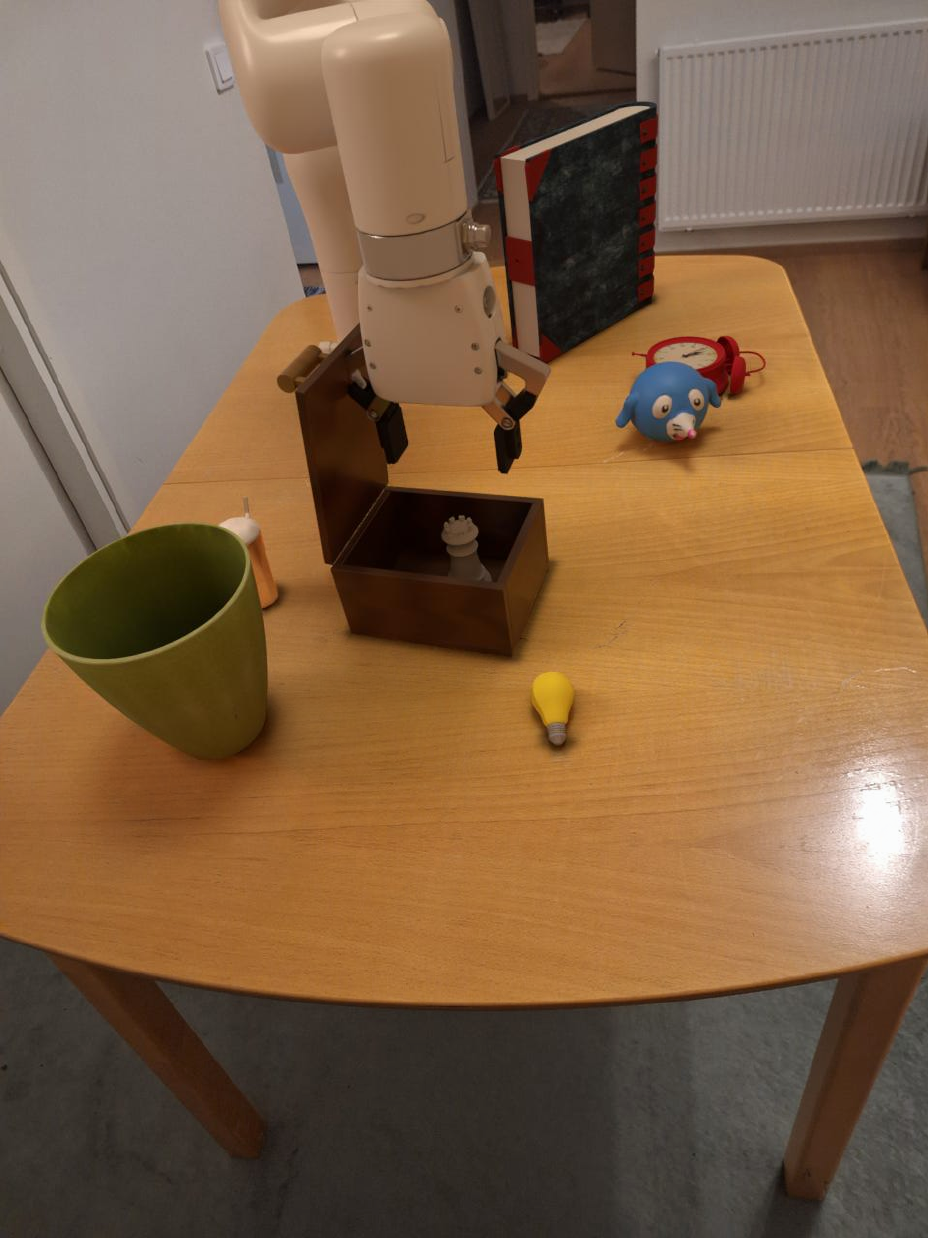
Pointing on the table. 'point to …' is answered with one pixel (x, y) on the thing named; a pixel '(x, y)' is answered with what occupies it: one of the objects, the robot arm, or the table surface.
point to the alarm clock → (705, 358)
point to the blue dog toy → (668, 402)
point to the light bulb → (553, 703)
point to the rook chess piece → (464, 550)
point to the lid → (336, 442)
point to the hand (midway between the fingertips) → (452, 459)
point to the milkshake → (255, 554)
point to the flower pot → (169, 635)
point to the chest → (443, 570)
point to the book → (579, 227)
